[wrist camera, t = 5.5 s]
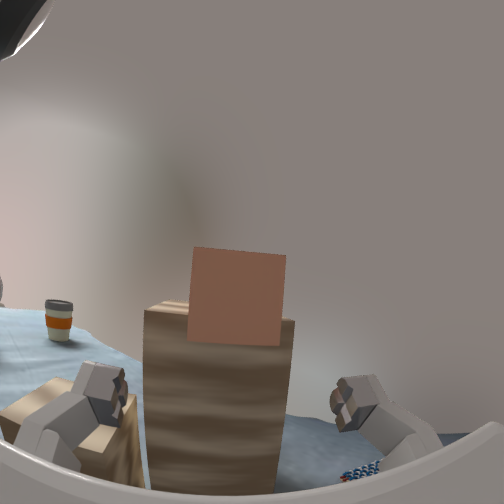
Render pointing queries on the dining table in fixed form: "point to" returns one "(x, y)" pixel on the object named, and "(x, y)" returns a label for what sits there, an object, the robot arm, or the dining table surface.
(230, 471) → the stand
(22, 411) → the base block
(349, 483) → the robot arm
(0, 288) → the ceramic pitcher
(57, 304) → the reusable coffee cup
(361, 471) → the woven mat
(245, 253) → the rod
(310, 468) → the dining table surface
